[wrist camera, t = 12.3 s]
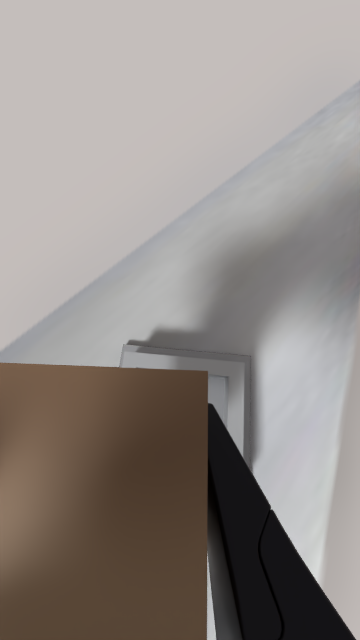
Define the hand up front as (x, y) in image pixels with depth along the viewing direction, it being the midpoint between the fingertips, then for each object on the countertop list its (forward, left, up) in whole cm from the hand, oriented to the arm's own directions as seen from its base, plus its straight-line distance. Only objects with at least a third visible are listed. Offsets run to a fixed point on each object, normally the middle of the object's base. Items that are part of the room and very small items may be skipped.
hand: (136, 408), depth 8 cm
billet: (-1, 0, -7) cm, 7 cm away
